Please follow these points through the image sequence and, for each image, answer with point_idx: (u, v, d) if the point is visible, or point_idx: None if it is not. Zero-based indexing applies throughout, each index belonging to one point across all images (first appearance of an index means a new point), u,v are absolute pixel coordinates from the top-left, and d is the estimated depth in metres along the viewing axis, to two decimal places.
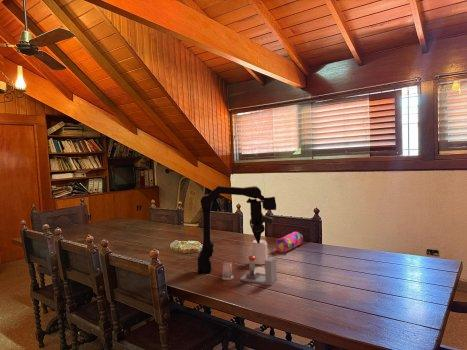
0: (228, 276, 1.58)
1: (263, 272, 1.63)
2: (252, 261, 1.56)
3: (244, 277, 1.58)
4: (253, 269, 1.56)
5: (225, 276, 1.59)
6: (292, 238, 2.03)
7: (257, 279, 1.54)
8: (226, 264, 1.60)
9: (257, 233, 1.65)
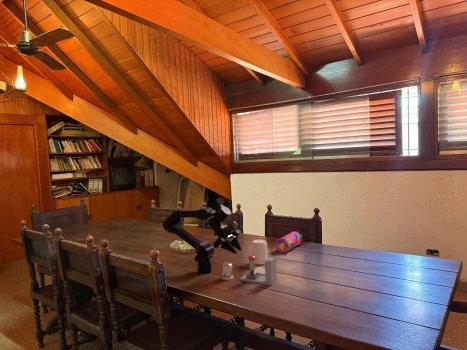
0: (228, 276, 1.58)
1: (263, 272, 1.63)
2: (252, 261, 1.56)
3: (244, 277, 1.58)
4: (253, 269, 1.56)
5: (225, 276, 1.59)
6: (292, 238, 2.03)
7: (257, 279, 1.54)
8: (226, 264, 1.60)
9: (227, 245, 1.59)
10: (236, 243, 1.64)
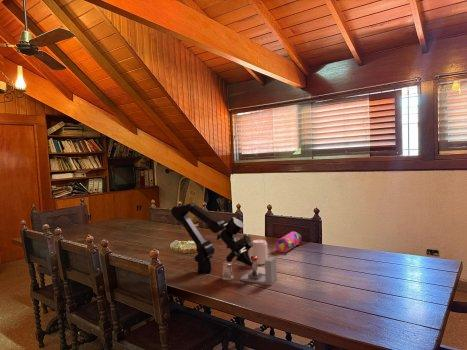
0: (228, 276, 1.58)
1: (263, 272, 1.63)
2: (254, 261, 1.55)
3: (244, 277, 1.58)
4: (255, 269, 1.55)
5: (225, 276, 1.59)
6: (292, 238, 2.03)
7: (257, 279, 1.54)
8: (226, 264, 1.60)
9: (242, 258, 1.58)
10: None
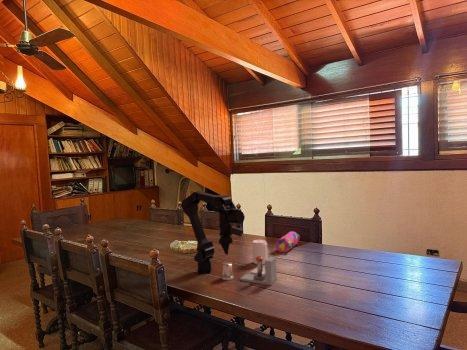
0: (228, 276, 1.58)
1: (263, 272, 1.63)
2: (260, 262, 1.54)
3: (244, 277, 1.58)
4: (261, 270, 1.54)
5: (225, 276, 1.59)
6: (291, 238, 2.03)
7: (257, 279, 1.54)
8: (226, 264, 1.60)
9: (225, 244, 1.57)
10: None
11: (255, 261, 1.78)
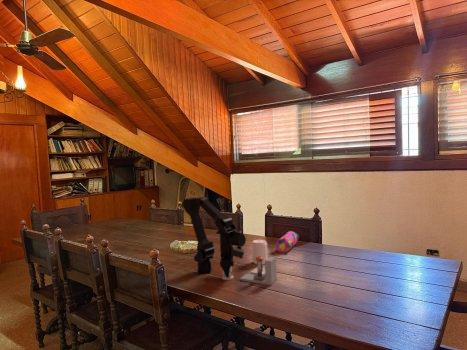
0: None
1: (263, 272, 1.63)
2: (260, 262, 1.54)
3: (244, 277, 1.58)
4: (261, 270, 1.54)
5: (225, 276, 1.59)
6: (291, 238, 2.04)
7: (257, 279, 1.54)
8: None
9: (226, 267, 1.57)
10: None
11: (255, 261, 1.78)
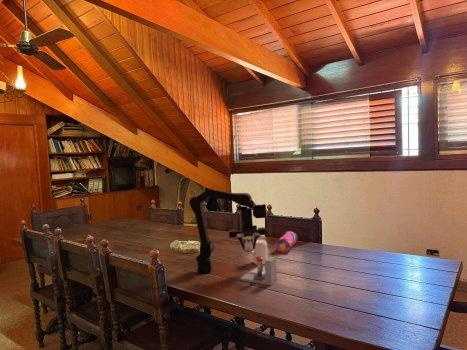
0: (244, 249, 1.66)
1: (263, 272, 1.63)
2: (260, 262, 1.54)
3: (244, 277, 1.58)
4: (261, 270, 1.54)
5: None
6: (290, 238, 2.04)
7: (257, 279, 1.54)
8: (246, 238, 1.66)
9: None
10: (253, 241, 1.65)
11: (255, 261, 1.78)
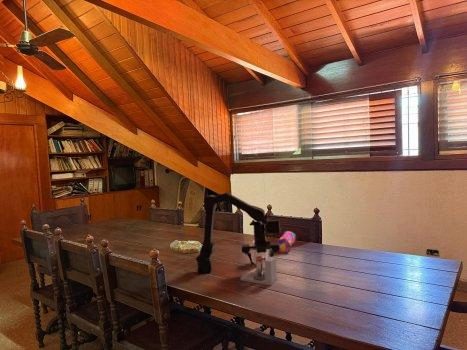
0: (256, 267, 1.65)
1: (263, 272, 1.63)
2: (260, 262, 1.54)
3: (244, 277, 1.58)
4: (261, 270, 1.54)
5: None
6: (290, 237, 2.04)
7: (257, 279, 1.54)
8: None
9: None
10: (270, 256, 1.65)
11: (255, 261, 1.78)
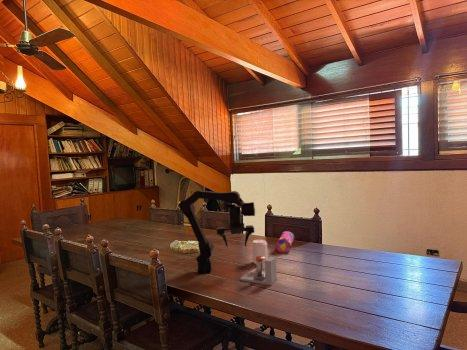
0: (256, 267, 1.65)
1: (263, 272, 1.63)
2: (260, 262, 1.54)
3: (244, 277, 1.58)
4: (261, 270, 1.54)
5: None
6: (289, 237, 2.04)
7: (257, 279, 1.54)
8: None
9: None
10: (245, 238, 1.67)
11: (255, 261, 1.78)
